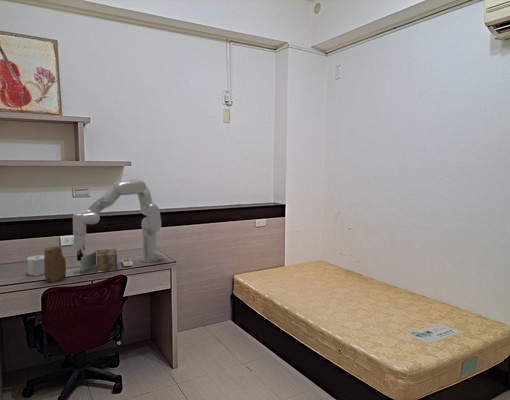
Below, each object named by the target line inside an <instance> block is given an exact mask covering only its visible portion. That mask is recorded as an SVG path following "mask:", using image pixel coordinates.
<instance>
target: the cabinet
mask: <svg viewBox="0 0 510 400" xmlns="http://www.w3.org/2000/svg"><path fill="white" fill-rule="evenodd" d="M96 270H97V271H109V272H117V271H118V254H117V249H116V248H110V249H108V248H107V249H97V250H96ZM97 271H96V272H97Z"/></svg>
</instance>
